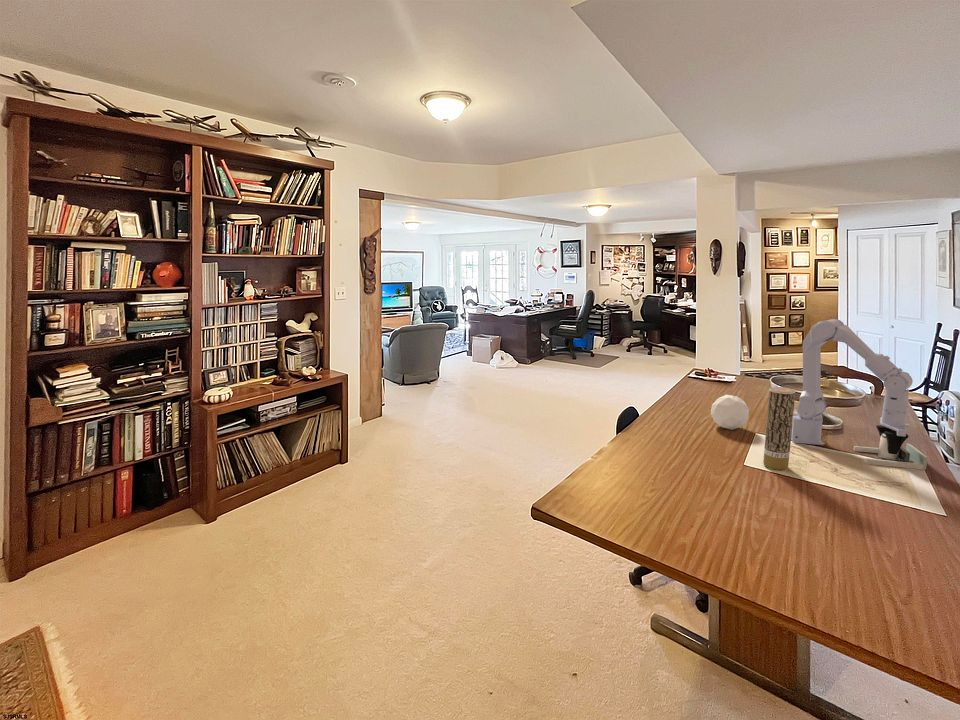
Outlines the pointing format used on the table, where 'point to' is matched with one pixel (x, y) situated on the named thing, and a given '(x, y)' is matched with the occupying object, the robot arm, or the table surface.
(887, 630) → the table surface
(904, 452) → the pusher plate
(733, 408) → the geodesic sphere
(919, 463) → the lane
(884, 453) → the jar
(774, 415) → the paper tube
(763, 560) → the table surface
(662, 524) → the table surface
